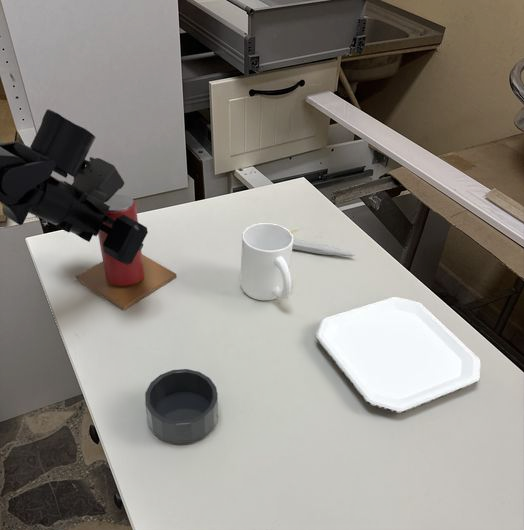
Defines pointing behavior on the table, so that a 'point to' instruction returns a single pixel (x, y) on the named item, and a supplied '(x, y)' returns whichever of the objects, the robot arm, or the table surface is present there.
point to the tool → (319, 248)
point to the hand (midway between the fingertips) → (127, 239)
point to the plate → (398, 353)
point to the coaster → (132, 293)
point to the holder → (181, 406)
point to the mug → (266, 261)
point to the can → (113, 268)
